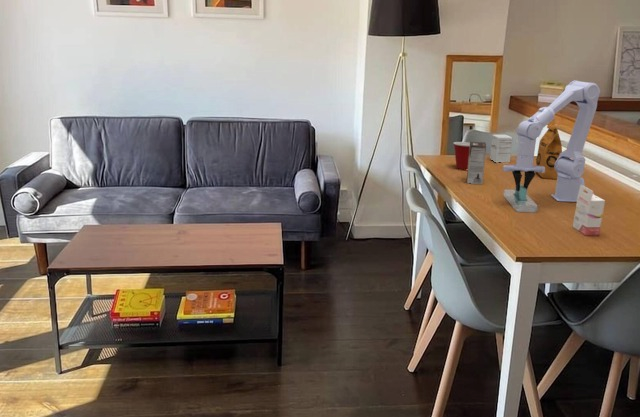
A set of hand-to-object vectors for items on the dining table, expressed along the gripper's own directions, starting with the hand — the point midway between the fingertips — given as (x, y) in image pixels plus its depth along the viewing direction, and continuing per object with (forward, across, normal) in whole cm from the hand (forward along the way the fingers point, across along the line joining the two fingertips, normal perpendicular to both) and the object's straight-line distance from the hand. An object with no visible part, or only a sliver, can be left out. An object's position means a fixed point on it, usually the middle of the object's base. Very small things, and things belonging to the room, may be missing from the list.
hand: (521, 190), depth 216 cm
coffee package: (+5, +23, +43) cm, 49 cm away
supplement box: (+5, +8, +68) cm, 69 cm away
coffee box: (+5, -11, +30) cm, 32 cm away
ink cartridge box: (+5, +14, -28) cm, 32 cm away
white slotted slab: (+5, 0, 0) cm, 5 cm away
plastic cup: (+5, -12, +52) cm, 54 cm away
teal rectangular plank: (+4, 0, 0) cm, 5 cm away
